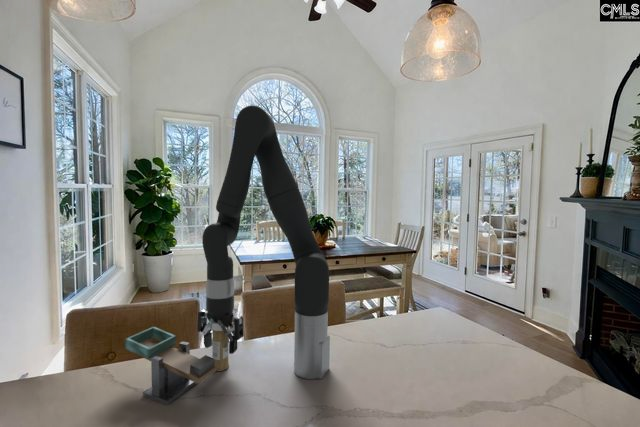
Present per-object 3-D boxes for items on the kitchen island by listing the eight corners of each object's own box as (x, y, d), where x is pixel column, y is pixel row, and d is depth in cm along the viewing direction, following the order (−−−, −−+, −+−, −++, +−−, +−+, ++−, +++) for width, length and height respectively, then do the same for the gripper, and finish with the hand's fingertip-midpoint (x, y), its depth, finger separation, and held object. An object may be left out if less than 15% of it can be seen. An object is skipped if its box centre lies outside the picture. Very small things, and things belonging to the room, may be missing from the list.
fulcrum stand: (198, 382, 84) (198, 344, 83) (167, 405, 74) (166, 363, 74) (175, 375, 87) (175, 339, 86) (142, 396, 78) (142, 356, 77)
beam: (218, 368, 80) (220, 354, 79) (194, 386, 72) (196, 371, 72) (152, 338, 88) (153, 326, 88) (124, 352, 81) (125, 338, 80)
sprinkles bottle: (231, 368, 90) (230, 322, 89) (214, 373, 88) (214, 325, 87) (226, 361, 94) (225, 316, 93) (210, 365, 92) (209, 320, 91)
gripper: (249, 293, 90) (249, 348, 91) (209, 286, 96) (209, 339, 97) (232, 301, 83) (232, 361, 84) (190, 293, 89) (190, 350, 90)
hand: (220, 349), depth 91 cm, fingers open, 8 cm apart
